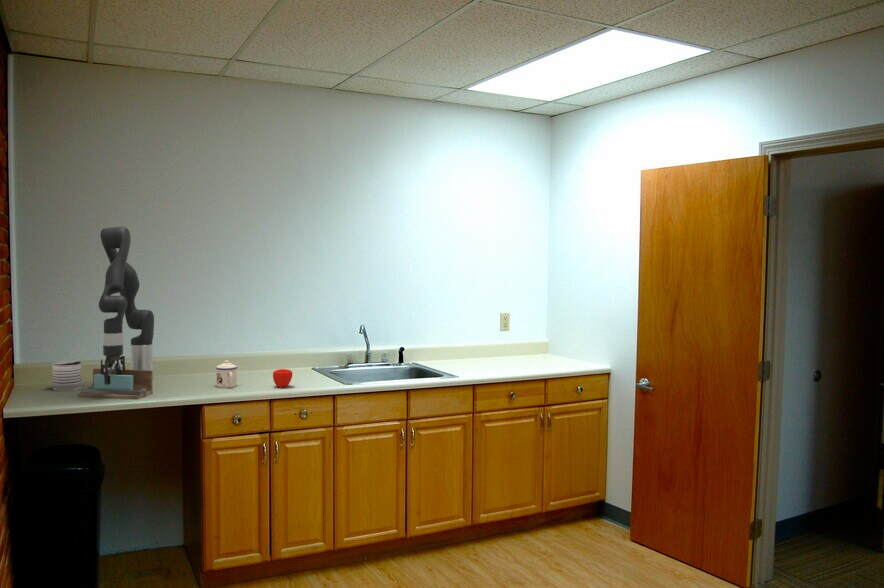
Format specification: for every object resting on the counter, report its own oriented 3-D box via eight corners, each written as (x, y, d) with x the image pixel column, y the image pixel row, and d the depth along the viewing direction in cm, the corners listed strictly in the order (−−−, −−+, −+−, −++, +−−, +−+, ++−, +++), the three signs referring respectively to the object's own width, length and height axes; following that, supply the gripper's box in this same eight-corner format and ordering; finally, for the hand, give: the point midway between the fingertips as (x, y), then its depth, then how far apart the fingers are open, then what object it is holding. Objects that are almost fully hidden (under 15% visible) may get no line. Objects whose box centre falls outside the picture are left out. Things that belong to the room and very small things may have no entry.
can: (67, 391, 300) (66, 363, 299) (45, 389, 303) (45, 361, 302) (87, 386, 311) (87, 359, 310) (67, 384, 314) (66, 358, 313)
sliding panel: (97, 391, 295) (96, 373, 294) (133, 393, 293) (133, 375, 293) (94, 392, 293) (94, 374, 293) (130, 394, 291) (130, 376, 291)
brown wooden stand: (94, 391, 302) (94, 367, 301) (152, 393, 299) (152, 370, 299) (77, 396, 290) (77, 372, 289) (137, 399, 287) (137, 375, 287)
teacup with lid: (213, 385, 321) (213, 359, 320) (233, 383, 326) (233, 358, 325) (221, 389, 311) (221, 363, 310) (241, 388, 316) (241, 362, 315)
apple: (295, 387, 319) (295, 370, 319) (276, 389, 315) (276, 372, 314) (288, 384, 327) (288, 367, 326) (270, 385, 322) (270, 368, 322)
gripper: (114, 341, 299) (114, 379, 300) (94, 345, 285) (94, 385, 285) (131, 342, 298) (131, 380, 299) (112, 346, 284) (112, 386, 285)
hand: (113, 382), depth 292 cm, fingers open, 8 cm apart
